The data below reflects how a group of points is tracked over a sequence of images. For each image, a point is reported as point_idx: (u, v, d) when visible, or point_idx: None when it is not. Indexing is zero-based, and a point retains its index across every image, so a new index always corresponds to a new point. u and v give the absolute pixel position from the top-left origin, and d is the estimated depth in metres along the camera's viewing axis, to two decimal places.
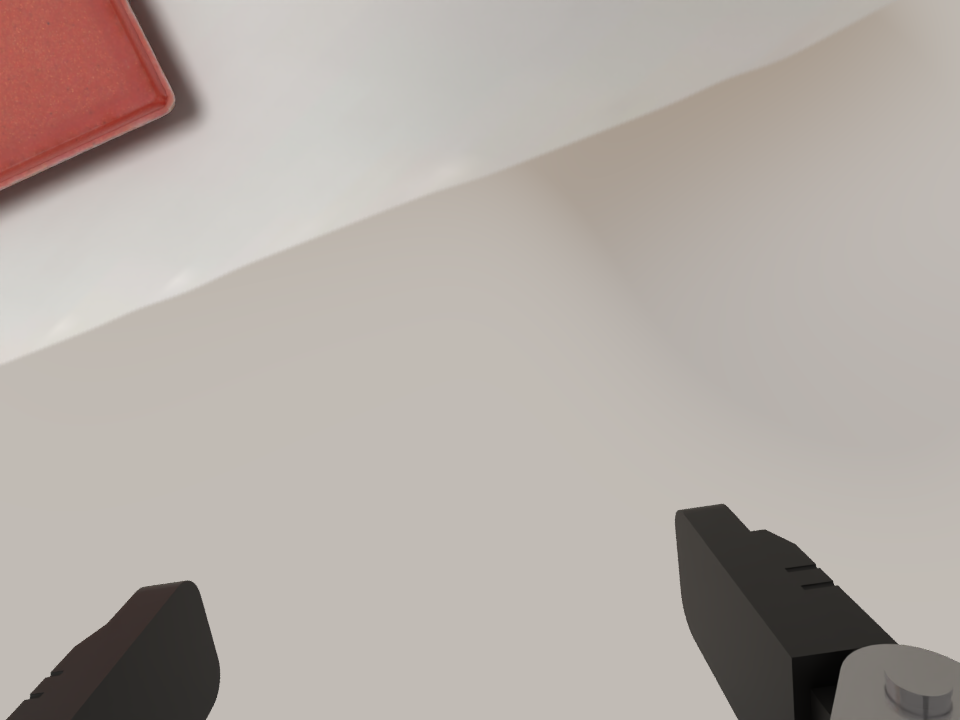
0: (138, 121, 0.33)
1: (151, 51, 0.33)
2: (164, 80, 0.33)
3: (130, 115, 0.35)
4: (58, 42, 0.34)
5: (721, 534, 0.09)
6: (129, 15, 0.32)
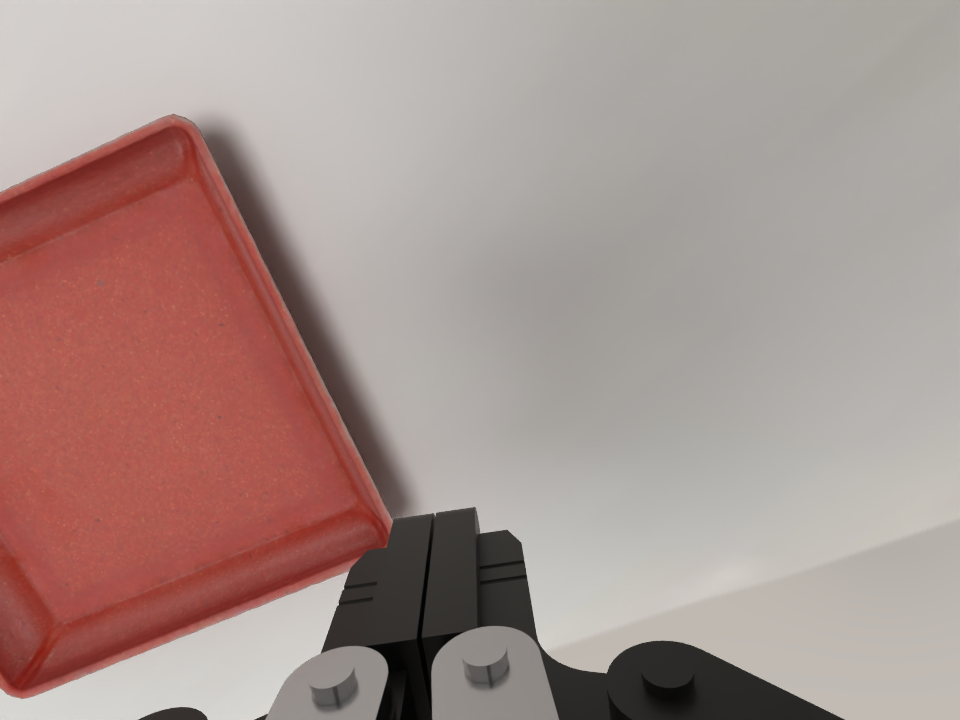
0: (348, 566, 0.25)
1: (371, 483, 0.24)
2: (386, 516, 0.24)
3: (323, 527, 0.26)
4: (231, 438, 0.26)
5: (450, 534, 0.10)
6: (345, 441, 0.23)
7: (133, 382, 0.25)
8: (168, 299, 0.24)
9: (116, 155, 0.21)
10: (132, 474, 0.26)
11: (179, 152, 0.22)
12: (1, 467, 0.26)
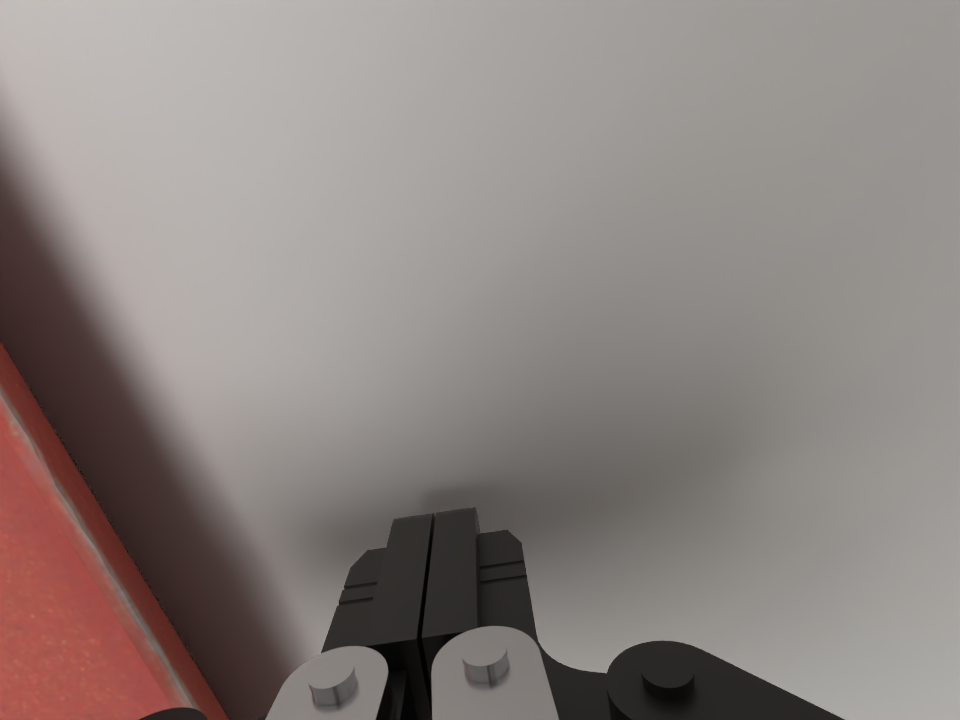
0: None
1: None
2: None
3: None
4: None
5: (450, 534, 0.10)
6: None
7: None
8: None
9: None
10: None
11: None
12: None
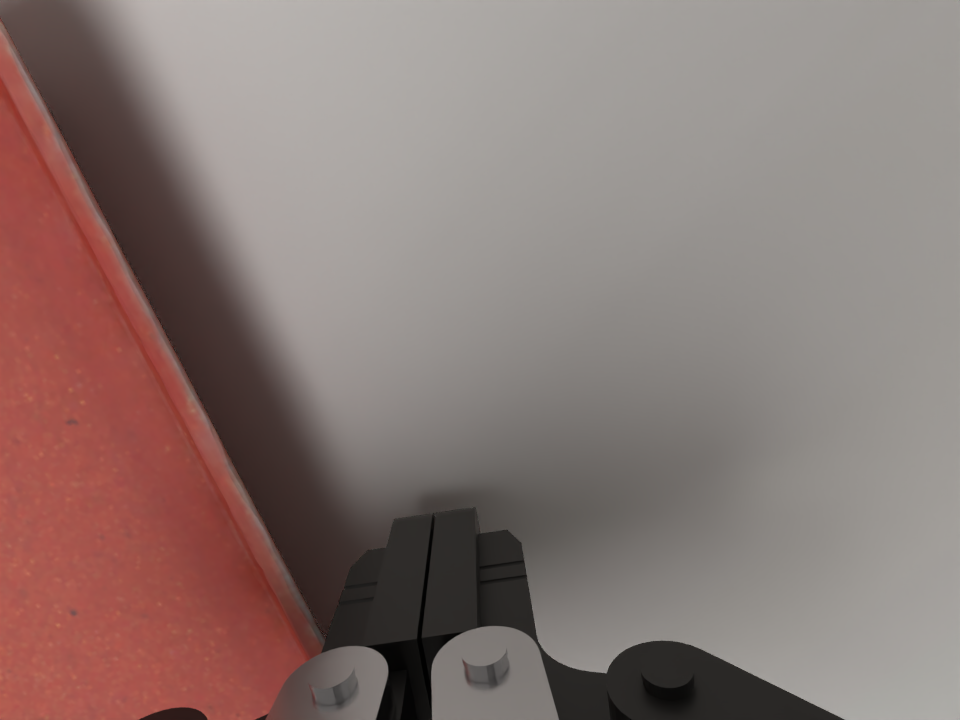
0: None
1: None
2: None
3: None
4: (100, 655, 0.12)
5: (450, 534, 0.10)
6: None
7: None
8: None
9: None
10: None
11: None
12: None
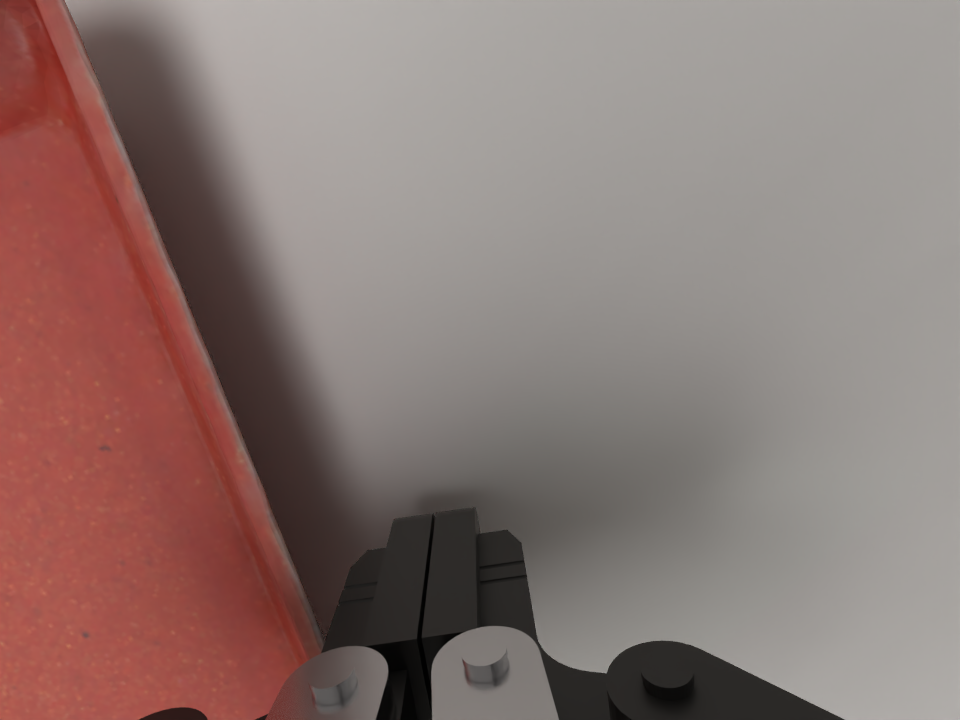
0: None
1: None
2: None
3: None
4: (107, 678, 0.12)
5: (450, 534, 0.10)
6: None
7: None
8: None
9: None
10: None
11: (20, 48, 0.09)
12: None
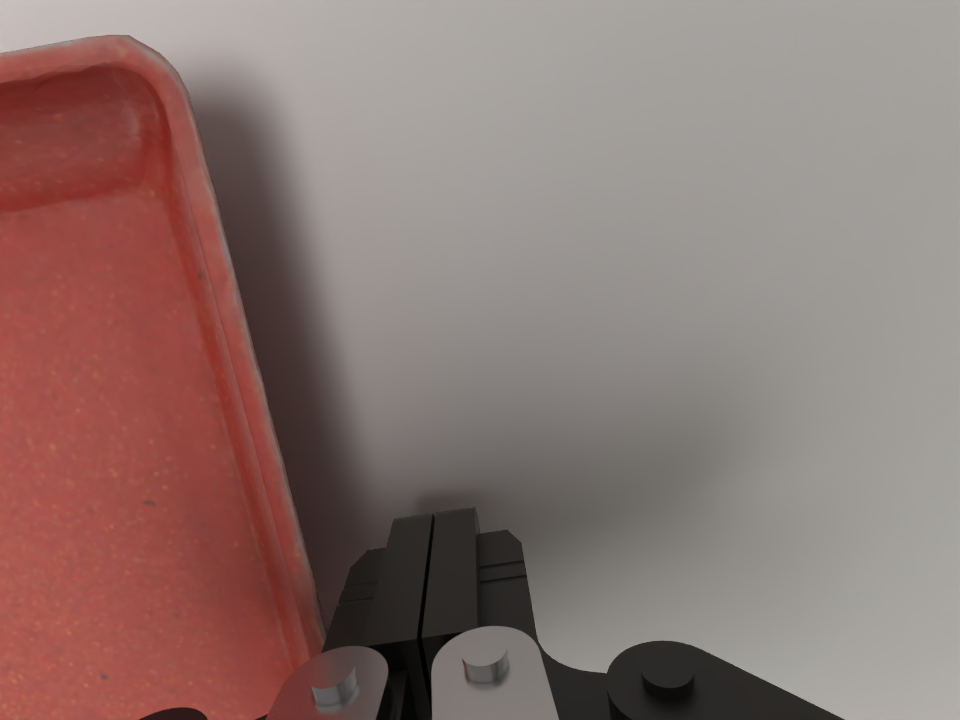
0: None
1: None
2: None
3: None
4: (120, 719, 0.12)
5: (450, 534, 0.10)
6: None
7: None
8: (44, 430, 0.11)
9: None
10: None
11: (131, 130, 0.09)
12: None
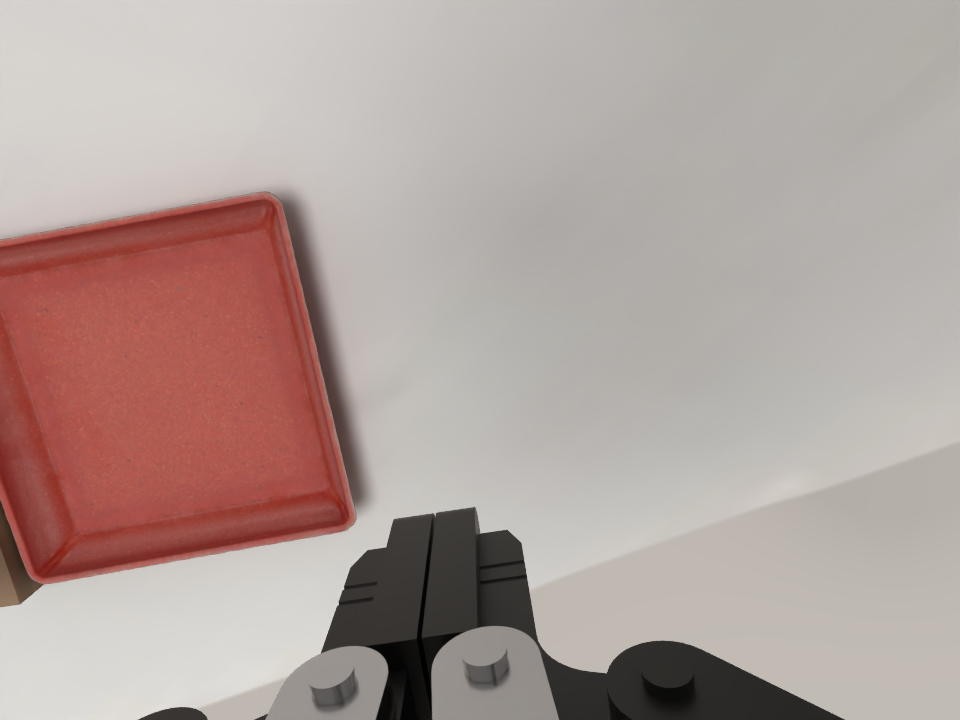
0: (314, 533, 0.33)
1: (345, 476, 0.32)
2: (350, 502, 0.33)
3: (299, 501, 0.35)
4: (246, 421, 0.34)
5: (450, 534, 0.10)
6: (333, 442, 0.32)
7: (183, 364, 0.33)
8: (225, 310, 0.33)
9: (219, 209, 0.30)
10: (164, 431, 0.34)
11: (262, 213, 0.31)
12: (66, 405, 0.33)
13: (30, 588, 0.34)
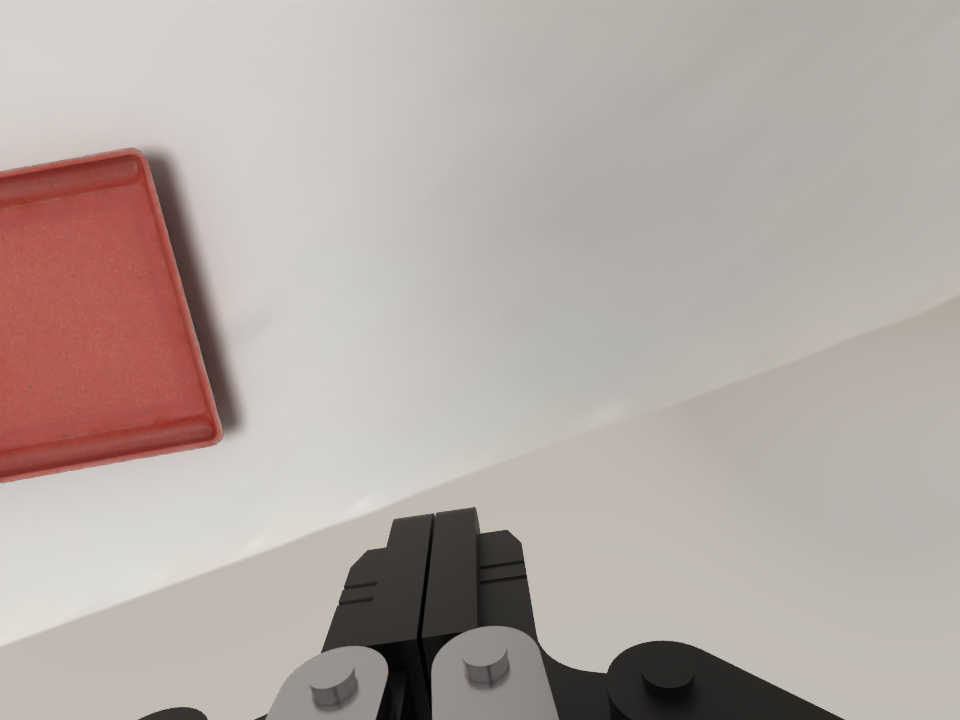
0: (186, 447, 0.38)
1: (212, 396, 0.38)
2: (217, 420, 0.38)
3: (179, 422, 0.40)
4: (131, 351, 0.39)
5: (450, 534, 0.10)
6: (200, 366, 0.37)
7: (74, 301, 0.38)
8: (109, 254, 0.38)
9: (94, 163, 0.35)
10: (60, 360, 0.39)
11: (135, 168, 0.36)
12: None
13: None
